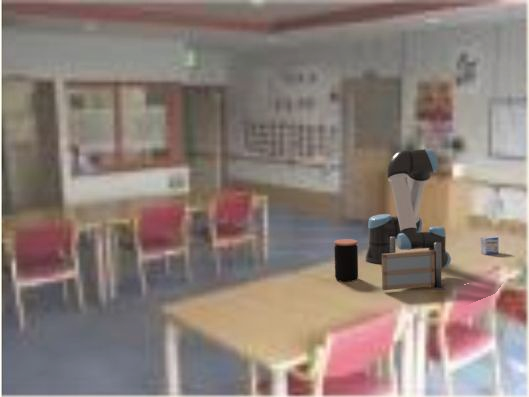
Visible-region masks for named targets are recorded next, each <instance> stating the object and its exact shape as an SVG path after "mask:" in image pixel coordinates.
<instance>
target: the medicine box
mask: <svg viewBox="0 0 529 397" xmlns="http://www.w3.org/2000/svg"><path fill="white" fill-rule="evenodd" d="M499 242H500V241H499V237H497V236H483V237H480V254H481V255H485V256H488V255H489V254H490V255H498V254H499V247H500V246H499Z"/></svg>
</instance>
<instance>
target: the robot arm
mask: <svg viewBox="0 0 529 397" xmlns="http://www.w3.org/2000/svg"><path fill="white" fill-rule="evenodd" d="M438 162H439V160H438V157H437V154H436V152H435V150H433V149H432V148H421V149H402V150H399V151H397V152H395V153H394V154H393V155H392V157H391V158H390V160H389V162H388V165H387V170H386V175H387V181H389V182H390V184H391V185H390V186H391V189H392V190H391V191H392V196H393V201H394V205H395V211H396V216H392V215H391V214H389V213H382V214H381V213H380V214H375V215H373V216H371V217H369V219H368V223H367V224H368V226H367V229H368V247H367V251H366V253H365V261H367V263H368V262H369V263H371V264H373V263H374V264H382V254H388V253H390V237H392V236H394V237H395V240H396V244H397V245H396V246H397V247H398V249H399V250H402V251H403V250H404V251H405V250H406V251H411V250H418V249H419V250H420V249H423V250H424V249H428V250H434V243H435V242H440V243H441V269H443V268H446V267H448V266H449V265H450V264H451V259H452V258H451V257H452V256H450V253H449V252H448V251H446V239H447V238H446V237H447V236H446V228H445V227H443V226H441V225H434V226H429V227H428V230H427V231H422V230H423V226H422V225H423V222H422V221H423V220H422V218H421V217H420V215H419V210H420V206H421V203H422V198H423V194H424V192H425V186H426V182H427V181H429V180H430V179H431V176H432V174H436V173H437V171H438V169H439V164H438Z"/></svg>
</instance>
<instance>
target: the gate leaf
mask: <svg viewBox="0 0 529 397" xmlns="http://www.w3.org/2000/svg"><path fill="white" fill-rule="evenodd" d="M431 286H435V251H434V250H429V249H427V250H420V251H419V250H418V251H405V252H404V251H401V252H396V253H388V254H382V263H381V288H382V289H381V290H383V291H391V290H403V289H415V288H429V287H431Z"/></svg>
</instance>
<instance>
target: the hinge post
mask: <svg viewBox="0 0 529 397" xmlns="http://www.w3.org/2000/svg"><path fill="white" fill-rule="evenodd" d="M434 251H435V286H430V290H437V291H438V290H439V291H440V290H441V291H446V284H445V283H444V284H443V283H442V268H441V243H440V242H435V243H434Z"/></svg>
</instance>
